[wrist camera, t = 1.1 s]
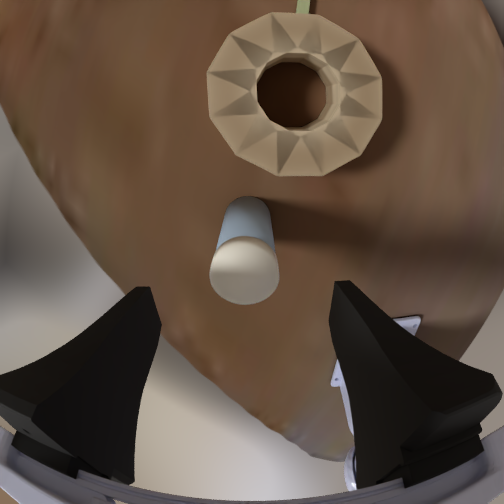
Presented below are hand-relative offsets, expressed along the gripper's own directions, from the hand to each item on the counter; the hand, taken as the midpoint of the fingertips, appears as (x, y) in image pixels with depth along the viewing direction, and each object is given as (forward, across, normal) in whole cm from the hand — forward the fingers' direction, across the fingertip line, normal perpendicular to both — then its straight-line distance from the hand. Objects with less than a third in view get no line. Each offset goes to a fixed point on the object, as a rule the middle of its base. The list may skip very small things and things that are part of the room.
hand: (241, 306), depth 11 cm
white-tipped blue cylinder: (+9, 0, 0) cm, 9 cm away
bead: (+9, -3, -8) cm, 12 cm away
